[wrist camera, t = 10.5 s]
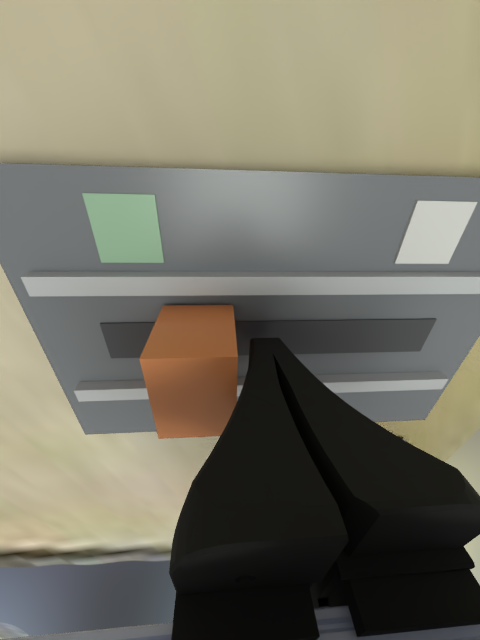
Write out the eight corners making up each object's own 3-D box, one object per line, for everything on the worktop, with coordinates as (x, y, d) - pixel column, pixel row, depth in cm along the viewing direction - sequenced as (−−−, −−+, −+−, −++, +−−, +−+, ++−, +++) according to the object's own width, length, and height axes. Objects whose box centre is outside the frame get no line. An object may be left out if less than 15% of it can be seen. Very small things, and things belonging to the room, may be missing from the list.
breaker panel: (405, 396, 18) (431, 427, 16) (99, 407, 17) (80, 443, 14) (523, 179, 11) (601, 180, 9) (-1, 163, 9) (-70, 160, 7)
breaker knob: (232, 373, 13) (235, 435, 10) (173, 374, 12) (158, 438, 9) (233, 304, 11) (237, 356, 8) (162, 305, 10) (139, 358, 7)
